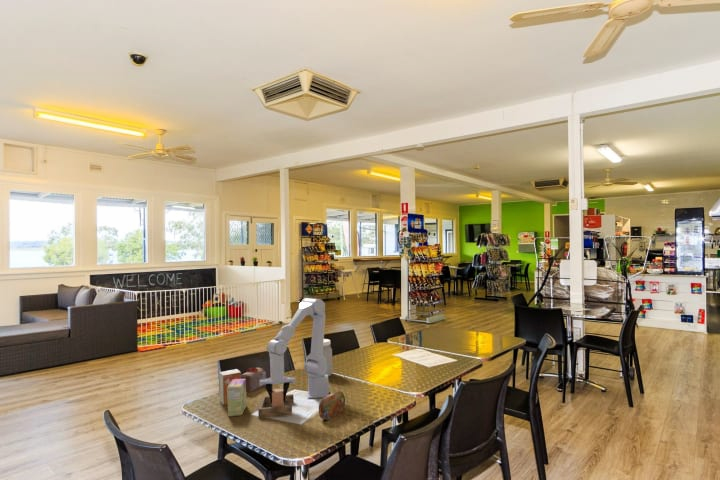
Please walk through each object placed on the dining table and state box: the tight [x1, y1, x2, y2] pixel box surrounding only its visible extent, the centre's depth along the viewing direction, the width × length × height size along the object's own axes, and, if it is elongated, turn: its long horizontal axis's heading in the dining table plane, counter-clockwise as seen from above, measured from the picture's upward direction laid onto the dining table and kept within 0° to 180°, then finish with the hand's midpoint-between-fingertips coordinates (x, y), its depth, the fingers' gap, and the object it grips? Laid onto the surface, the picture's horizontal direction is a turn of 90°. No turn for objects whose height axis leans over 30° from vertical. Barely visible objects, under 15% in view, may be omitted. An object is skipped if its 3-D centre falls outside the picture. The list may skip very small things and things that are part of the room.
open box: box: [257, 393, 295, 419], centre depth 172 cm, size 13×14×4 cm
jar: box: [322, 338, 334, 377], centre depth 217 cm, size 10×10×18 cm
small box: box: [218, 368, 242, 406], centre depth 184 cm, size 8×6×13 cm
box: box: [227, 379, 247, 417], centre depth 172 cm, size 10×6×12 cm, turn 5°
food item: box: [241, 367, 267, 394], centre depth 200 cm, size 14×8×10 cm, turn 163°
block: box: [271, 388, 285, 407], centre depth 172 cm, size 4×4×6 cm
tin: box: [318, 390, 346, 421], centre depth 165 cm, size 15×3×8 cm, turn 148°
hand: (278, 401), depth 172 cm, fingers closed on block, 4 cm apart
